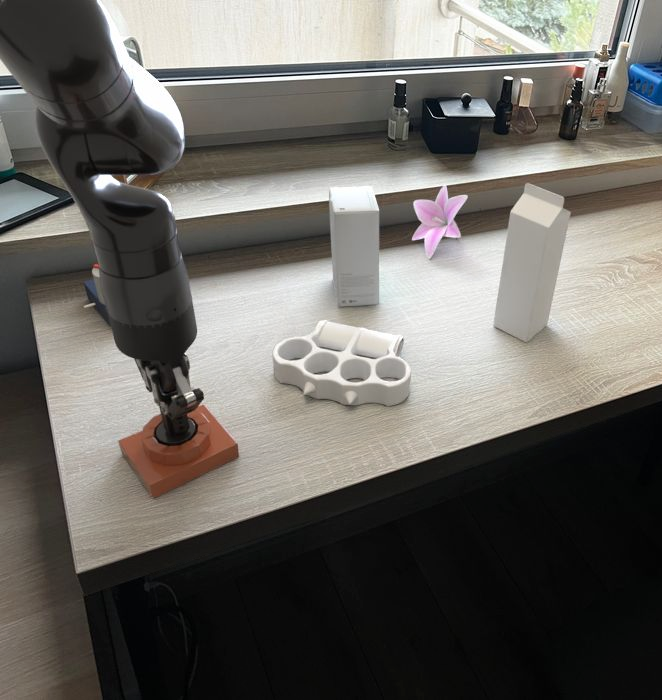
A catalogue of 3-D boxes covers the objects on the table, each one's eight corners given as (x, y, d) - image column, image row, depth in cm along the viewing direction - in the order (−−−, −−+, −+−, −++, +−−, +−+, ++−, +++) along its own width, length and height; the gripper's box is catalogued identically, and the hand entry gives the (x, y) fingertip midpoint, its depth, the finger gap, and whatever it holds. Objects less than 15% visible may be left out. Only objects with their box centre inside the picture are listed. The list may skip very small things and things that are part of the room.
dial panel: (101, 341, 95) (96, 321, 93) (72, 304, 101) (66, 285, 99) (189, 310, 102) (185, 292, 100) (157, 278, 108) (154, 260, 106)
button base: (153, 499, 76) (146, 473, 74) (121, 454, 81) (114, 429, 78) (239, 456, 82) (236, 431, 80) (206, 417, 86) (201, 392, 84)
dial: (137, 292, 99) (130, 262, 96) (120, 308, 96) (113, 278, 93) (110, 287, 100) (102, 257, 97) (92, 302, 96) (84, 272, 93)
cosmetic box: (379, 306, 108) (382, 212, 98) (334, 308, 106) (332, 213, 96) (372, 275, 114) (374, 184, 104) (329, 277, 112) (327, 185, 103)
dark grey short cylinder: (168, 459, 78) (166, 448, 76) (152, 438, 80) (149, 426, 79) (203, 443, 80) (201, 432, 79) (187, 423, 82) (184, 411, 81)
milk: (514, 309, 110) (537, 175, 97) (547, 325, 108) (576, 189, 95) (492, 326, 106) (513, 188, 93) (526, 343, 104) (553, 204, 90)
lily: (413, 226, 130) (395, 190, 122) (476, 206, 128) (462, 169, 120) (422, 278, 123) (403, 244, 115) (488, 258, 122) (473, 222, 114)
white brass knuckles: (425, 353, 100) (396, 425, 88) (301, 328, 102) (257, 394, 90) (427, 334, 98) (397, 404, 86) (300, 308, 99) (255, 374, 88)
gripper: (220, 320, 67) (239, 450, 77) (157, 257, 74) (182, 384, 84) (139, 349, 62) (171, 483, 73) (81, 279, 69) (117, 410, 80)
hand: (177, 430), depth 79 cm, fingers closed
